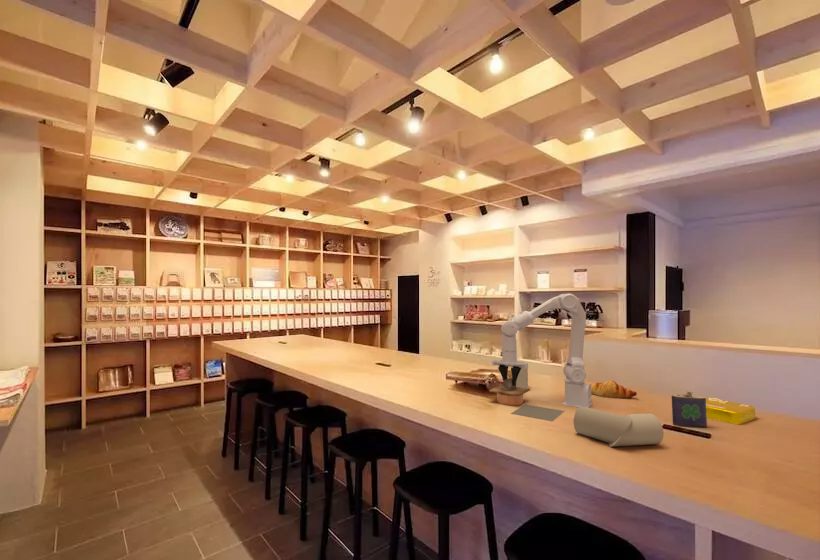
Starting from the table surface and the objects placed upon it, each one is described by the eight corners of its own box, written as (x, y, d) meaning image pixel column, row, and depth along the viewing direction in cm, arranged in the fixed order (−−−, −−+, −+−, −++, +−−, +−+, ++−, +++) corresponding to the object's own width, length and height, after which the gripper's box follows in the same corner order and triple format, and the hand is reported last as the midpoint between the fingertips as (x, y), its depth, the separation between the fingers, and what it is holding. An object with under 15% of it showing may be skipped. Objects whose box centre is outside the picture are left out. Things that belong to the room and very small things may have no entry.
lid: (530, 390, 159) (530, 378, 159) (518, 396, 149) (518, 384, 149) (501, 386, 166) (501, 375, 166) (489, 391, 156) (489, 380, 156)
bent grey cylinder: (602, 450, 105) (670, 446, 107) (596, 409, 108) (662, 406, 110) (569, 441, 122) (627, 438, 124) (564, 406, 125) (622, 404, 127)
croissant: (581, 401, 172) (579, 386, 170) (585, 386, 180) (583, 372, 177) (636, 408, 160) (634, 392, 157) (638, 392, 167) (636, 377, 165)
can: (530, 390, 178) (529, 363, 178) (513, 390, 178) (513, 363, 178) (525, 386, 185) (525, 361, 186) (509, 386, 185) (509, 361, 186)
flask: (704, 425, 129) (703, 390, 129) (709, 428, 126) (708, 392, 126) (671, 423, 131) (669, 388, 131) (675, 426, 128) (674, 391, 128)
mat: (564, 412, 144) (564, 410, 144) (552, 422, 132) (552, 421, 132) (525, 405, 153) (525, 404, 153) (510, 414, 141) (510, 413, 141)
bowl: (526, 401, 158) (526, 391, 158) (517, 407, 150) (517, 396, 150) (503, 398, 164) (503, 388, 164) (493, 403, 156) (493, 393, 156)
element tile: (688, 414, 142) (687, 401, 142) (707, 408, 149) (707, 395, 149) (738, 426, 129) (738, 411, 129) (757, 419, 136) (757, 405, 136)
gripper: (488, 350, 159) (489, 383, 159) (523, 353, 151) (523, 388, 150) (495, 348, 165) (496, 380, 164) (529, 351, 156) (530, 385, 156)
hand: (509, 384), depth 157 cm, fingers closed on lid, 3 cm apart
